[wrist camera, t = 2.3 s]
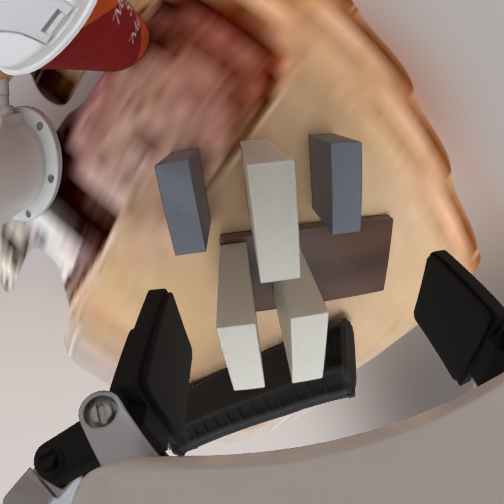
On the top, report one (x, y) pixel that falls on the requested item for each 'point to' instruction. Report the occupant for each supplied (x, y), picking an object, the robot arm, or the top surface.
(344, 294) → the shelf board
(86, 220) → the top surface
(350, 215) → the grey book
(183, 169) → the grey book
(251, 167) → the white book
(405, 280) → the top surface
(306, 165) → the top surface
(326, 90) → the top surface
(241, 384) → the white book
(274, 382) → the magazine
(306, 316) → the white book
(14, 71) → the paper cup
